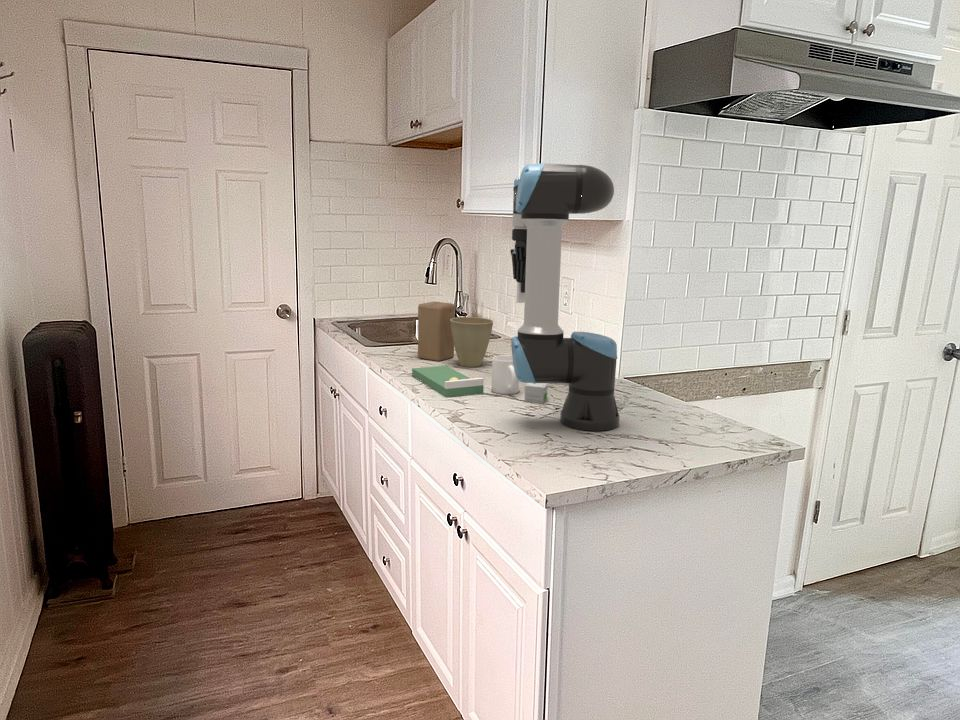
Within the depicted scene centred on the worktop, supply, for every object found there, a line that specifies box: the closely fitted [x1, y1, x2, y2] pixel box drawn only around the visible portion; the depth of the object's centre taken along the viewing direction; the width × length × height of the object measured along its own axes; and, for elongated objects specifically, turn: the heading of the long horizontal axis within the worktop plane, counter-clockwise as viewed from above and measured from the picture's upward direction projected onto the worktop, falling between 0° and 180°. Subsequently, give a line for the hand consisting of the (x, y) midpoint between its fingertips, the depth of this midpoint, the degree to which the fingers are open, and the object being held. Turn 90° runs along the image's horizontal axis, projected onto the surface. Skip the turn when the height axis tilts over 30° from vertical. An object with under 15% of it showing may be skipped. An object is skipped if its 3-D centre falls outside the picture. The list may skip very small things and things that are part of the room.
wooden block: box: [417, 301, 456, 362], centre depth 252 cm, size 10×10×20 cm
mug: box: [491, 354, 520, 396], centre depth 207 cm, size 12×8×10 cm
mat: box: [411, 365, 485, 398], centre depth 216 cm, size 28×12×4 cm, turn 26°
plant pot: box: [450, 316, 494, 368], centre depth 242 cm, size 15×15×16 cm
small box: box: [523, 383, 549, 404], centre depth 201 cm, size 6×6×5 cm
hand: (521, 302), depth 225 cm, fingers closed
